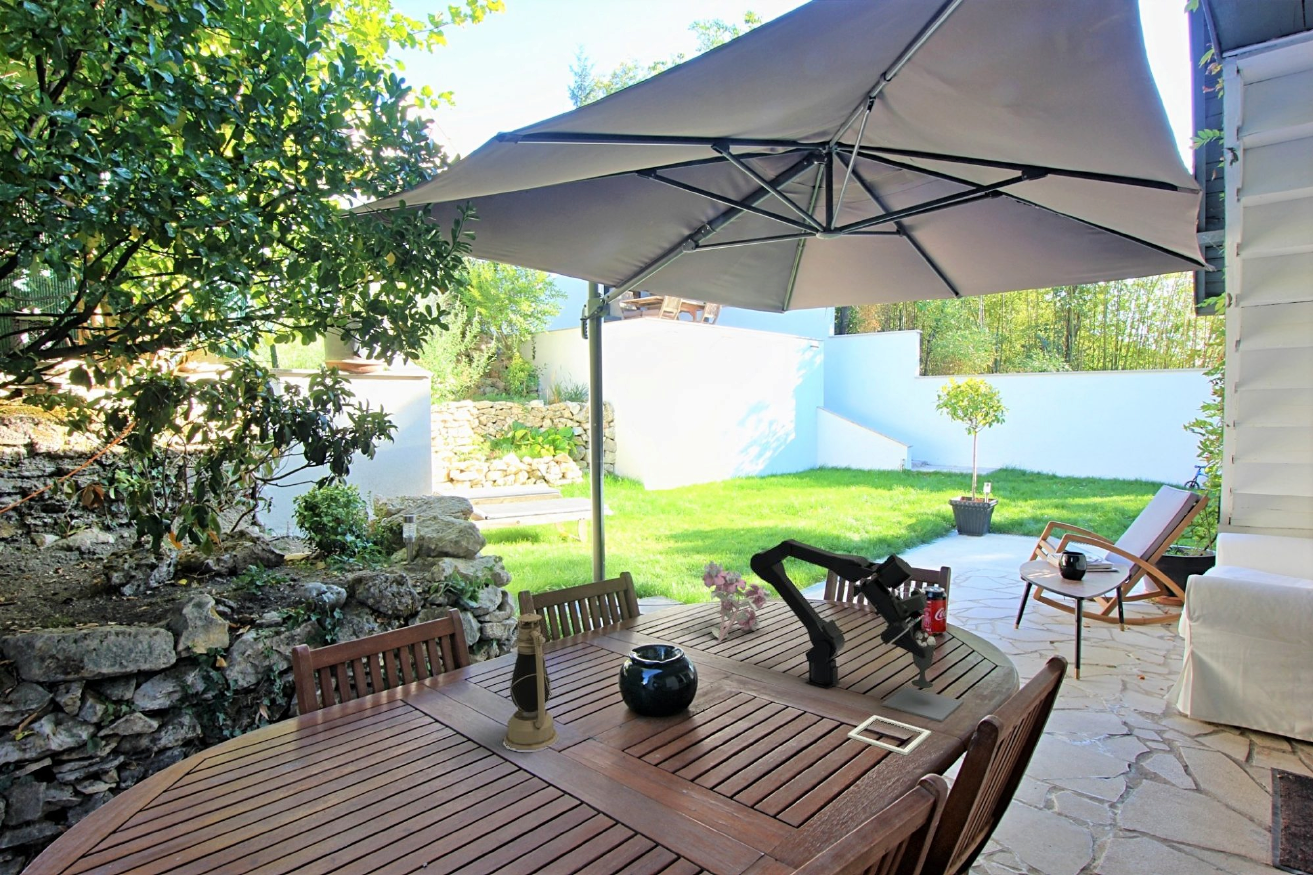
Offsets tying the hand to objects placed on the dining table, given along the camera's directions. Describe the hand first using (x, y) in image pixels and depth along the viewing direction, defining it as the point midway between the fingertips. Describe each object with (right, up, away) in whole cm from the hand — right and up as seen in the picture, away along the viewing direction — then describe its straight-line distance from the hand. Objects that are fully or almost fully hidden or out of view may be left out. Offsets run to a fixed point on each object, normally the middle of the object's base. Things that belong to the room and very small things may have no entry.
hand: (928, 653), depth 173 cm
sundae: (-1, -8, +1) cm, 8 cm away
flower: (-39, -11, +58) cm, 70 cm away
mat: (-1, -12, +1) cm, 12 cm away
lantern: (-91, -14, -16) cm, 94 cm away
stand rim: (-14, -13, -15) cm, 24 cm away
